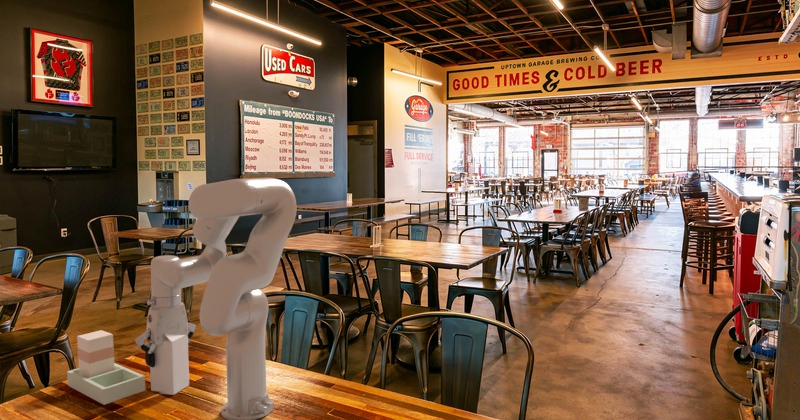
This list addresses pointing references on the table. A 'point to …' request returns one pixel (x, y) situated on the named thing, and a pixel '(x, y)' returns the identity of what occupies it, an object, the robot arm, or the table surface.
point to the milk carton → (170, 365)
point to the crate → (108, 384)
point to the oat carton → (95, 353)
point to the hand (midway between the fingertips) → (167, 360)
